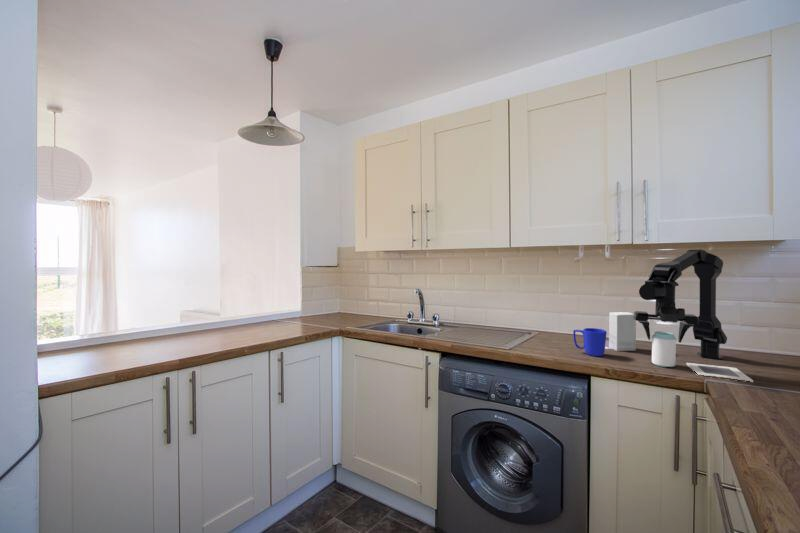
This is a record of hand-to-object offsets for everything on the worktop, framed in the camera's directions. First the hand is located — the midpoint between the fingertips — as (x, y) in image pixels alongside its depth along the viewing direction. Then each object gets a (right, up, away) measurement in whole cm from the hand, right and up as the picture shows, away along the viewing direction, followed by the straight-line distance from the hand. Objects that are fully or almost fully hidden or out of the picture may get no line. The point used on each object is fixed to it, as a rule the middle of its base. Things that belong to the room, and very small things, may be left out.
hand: (664, 340), depth 133 cm
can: (0, -9, 0) cm, 9 cm away
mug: (-20, -9, +15) cm, 26 cm away
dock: (+13, -9, -8) cm, 18 cm away
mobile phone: (-3, -8, +29) cm, 31 cm away
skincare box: (-2, -8, +22) cm, 24 cm away
